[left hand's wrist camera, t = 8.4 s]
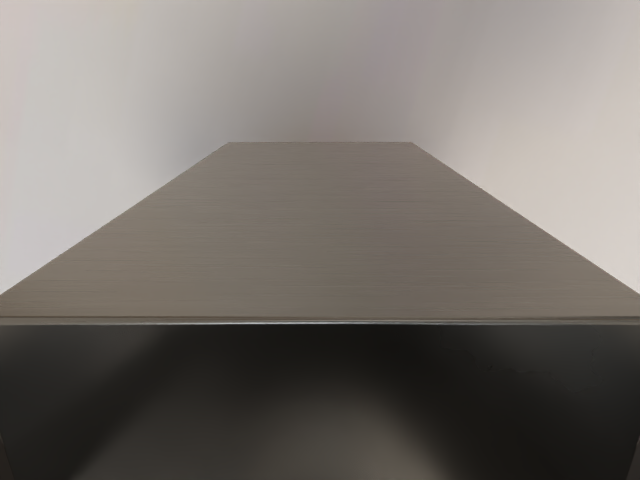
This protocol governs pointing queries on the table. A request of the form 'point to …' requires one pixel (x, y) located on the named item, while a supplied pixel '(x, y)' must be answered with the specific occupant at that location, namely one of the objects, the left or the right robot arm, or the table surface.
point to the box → (320, 333)
